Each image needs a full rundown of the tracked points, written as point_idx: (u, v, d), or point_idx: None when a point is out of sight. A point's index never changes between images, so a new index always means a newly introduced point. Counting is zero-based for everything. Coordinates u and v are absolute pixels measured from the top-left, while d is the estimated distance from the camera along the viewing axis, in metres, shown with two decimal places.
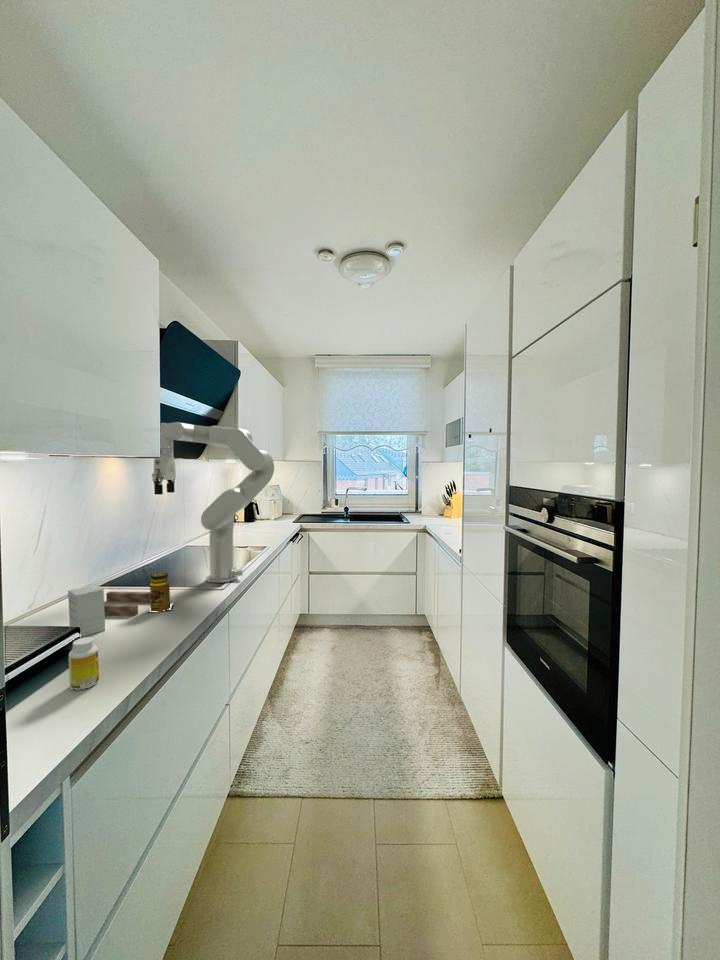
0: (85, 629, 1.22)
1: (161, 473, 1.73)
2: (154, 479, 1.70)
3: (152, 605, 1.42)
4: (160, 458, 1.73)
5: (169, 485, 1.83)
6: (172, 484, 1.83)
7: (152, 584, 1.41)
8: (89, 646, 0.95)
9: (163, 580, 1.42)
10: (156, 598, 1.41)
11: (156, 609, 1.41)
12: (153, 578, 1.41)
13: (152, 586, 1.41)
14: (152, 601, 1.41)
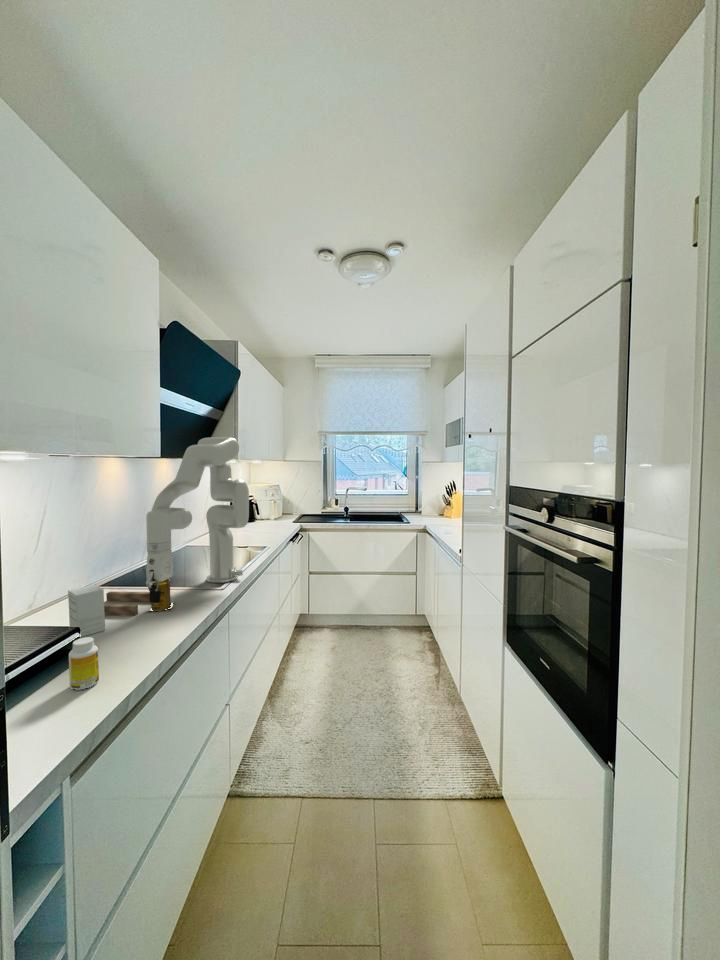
0: (85, 629, 1.22)
1: (156, 575, 1.39)
2: (149, 587, 1.38)
3: (153, 604, 1.42)
4: (155, 556, 1.39)
5: None
6: None
7: (153, 583, 1.42)
8: (89, 646, 0.95)
9: None
10: None
11: (156, 608, 1.42)
12: None
13: None
14: None
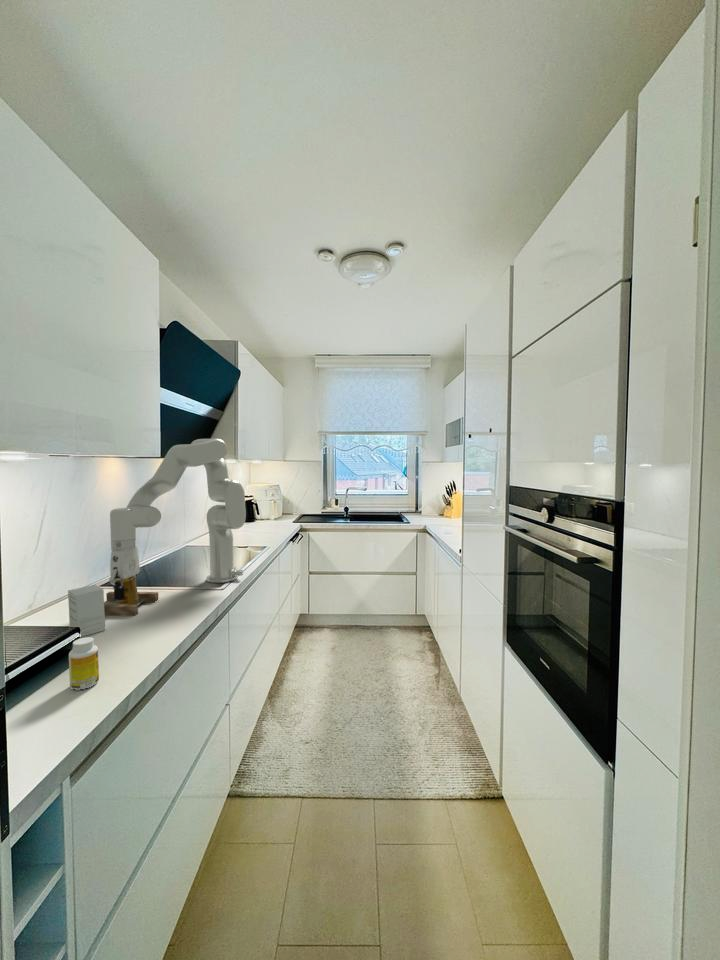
0: (85, 629, 1.22)
1: (119, 572, 1.40)
2: (113, 584, 1.39)
3: (119, 602, 1.43)
4: (118, 554, 1.40)
5: None
6: None
7: None
8: (89, 646, 0.95)
9: None
10: None
11: None
12: None
13: None
14: None
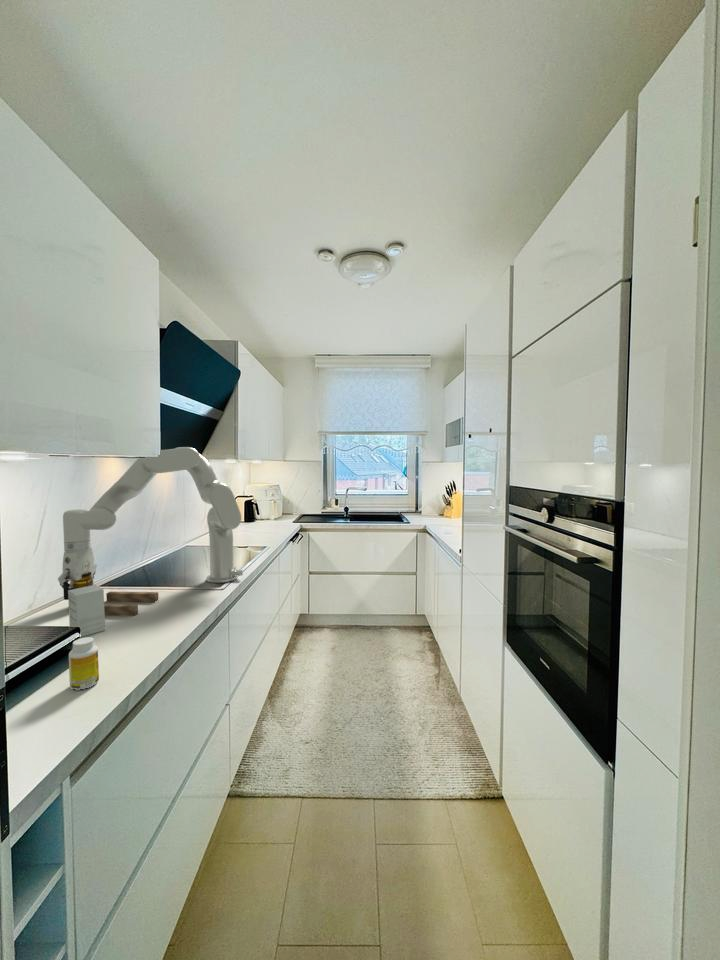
0: (85, 629, 1.22)
1: (71, 574, 1.41)
2: (61, 583, 1.38)
3: None
4: (70, 555, 1.41)
5: None
6: None
7: None
8: (89, 646, 0.95)
9: (82, 579, 1.44)
10: None
11: None
12: None
13: None
14: None
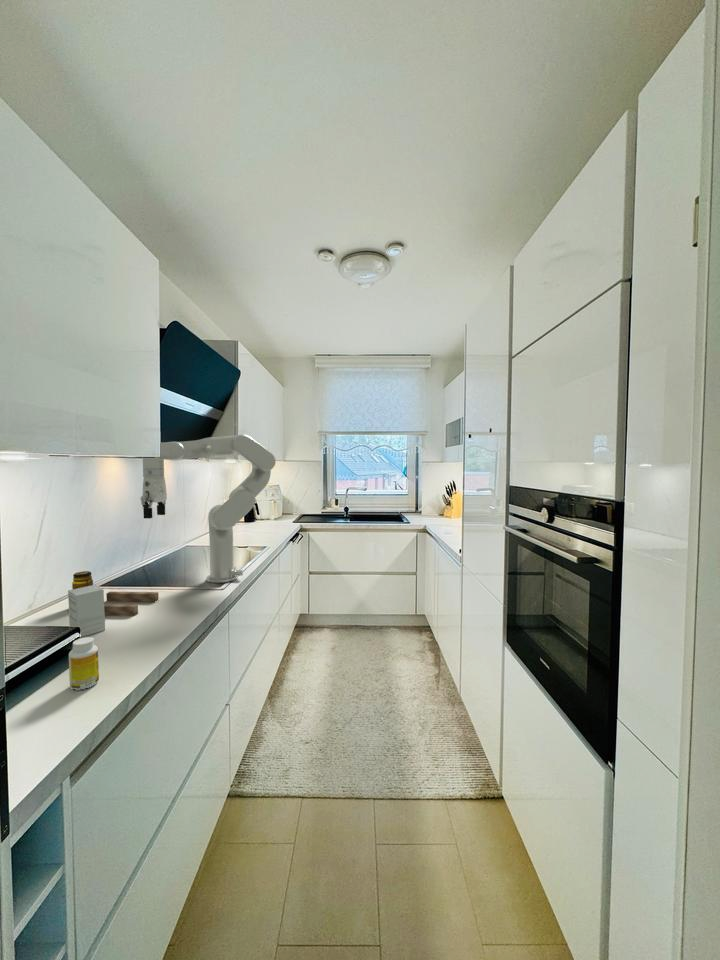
0: (85, 629, 1.22)
1: (151, 496, 1.62)
2: (143, 502, 1.59)
3: None
4: (149, 480, 1.62)
5: (159, 507, 1.72)
6: (163, 506, 1.72)
7: (73, 582, 1.44)
8: (89, 646, 0.95)
9: (83, 579, 1.44)
10: None
11: None
12: (74, 576, 1.44)
13: (72, 584, 1.44)
14: None
